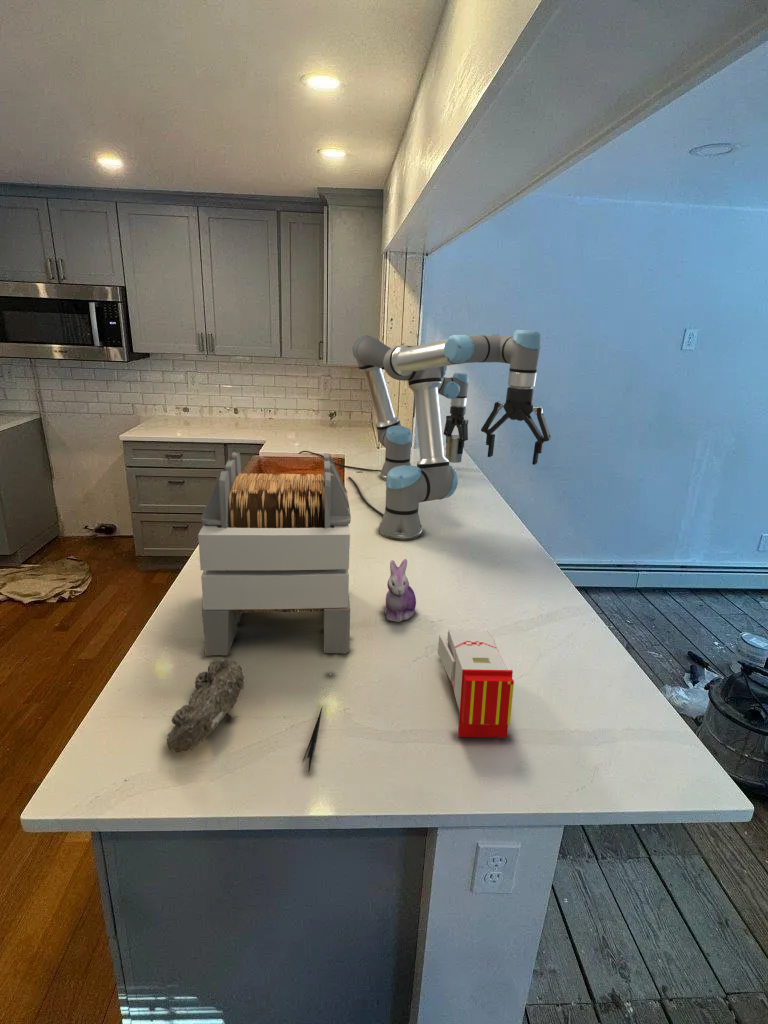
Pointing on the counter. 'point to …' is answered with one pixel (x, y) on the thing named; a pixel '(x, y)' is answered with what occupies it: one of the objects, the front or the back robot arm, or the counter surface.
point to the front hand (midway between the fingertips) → (512, 460)
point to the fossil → (206, 705)
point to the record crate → (275, 551)
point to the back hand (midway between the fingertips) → (454, 451)
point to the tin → (453, 449)
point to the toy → (478, 682)
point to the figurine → (399, 594)
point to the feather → (313, 740)
